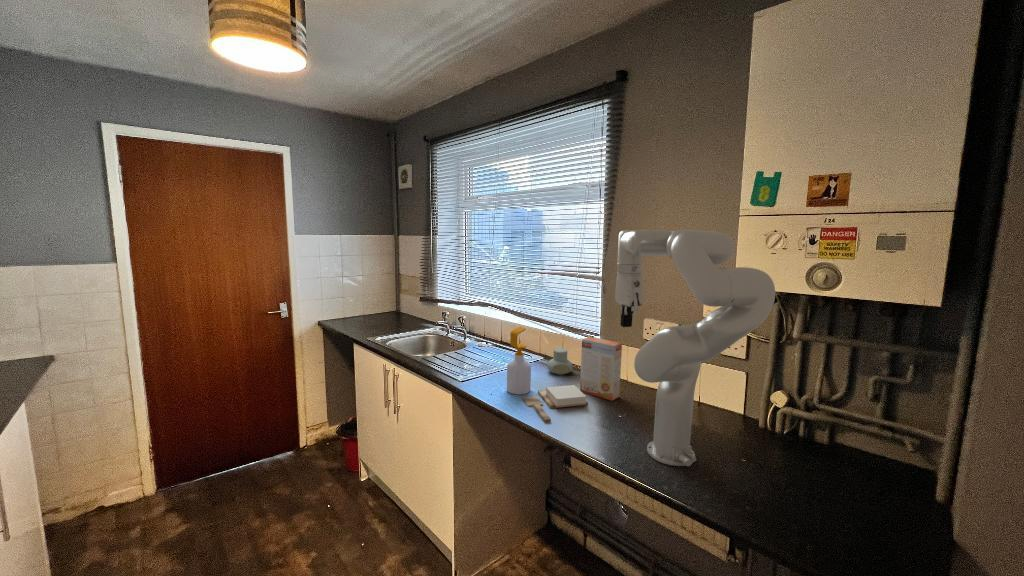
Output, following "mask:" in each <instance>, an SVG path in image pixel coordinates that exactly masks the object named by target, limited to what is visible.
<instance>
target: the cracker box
mask: <svg viewBox="0 0 1024 576" xmlns="http://www.w3.org/2000/svg"><path fill="white" fill-rule="evenodd" d="M622 349H623V343H622V342H617V341H613V340H609V339H604V338H597V337H593V336H588V337H584V338H582V339H581V355H580V356H581V358H580V360H581V361H580V383H579V384H580V385H579V388H580V389H579V390H580V391H581V392H582V393H584V394H589V395H591V396H594V397H598V398H602V399H605V400H608V401H611V402H613V401H614V400H616V399H618V398H620V391H621V390H620V389H621V370H622V369H621V368H622V352H623V351H622Z"/></svg>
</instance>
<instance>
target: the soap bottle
mask: <svg viewBox="0 0 1024 576" xmlns="http://www.w3.org/2000/svg"><path fill="white" fill-rule="evenodd" d="M523 332H526V328H525V327H522V326H519V327H516V328H515V329H512V330H511V332H510V336H509V337H510V338H509V339H510V346H511V347H513V348H515V350H516V351H515V353H514V358H513V359H511V360H510V361H509V362H508V363H507V365H506V391H507V392H508V393H509V394H512V395H518V396H522V395H527V394H528V393H530V392H531V389H532V388H531V384H532V383H531V381H532V378H531V375H532V366H531V363H530V362H529V361H528V360H527V359H525V358H524V357H525V355H524V352H522V350H524V349H525V348H527V345H526V344H523V343H518V336H519V334H520V333H523Z"/></svg>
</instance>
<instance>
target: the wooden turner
mask: <svg viewBox="0 0 1024 576" xmlns="http://www.w3.org/2000/svg"><path fill="white" fill-rule="evenodd" d="M522 400H523V402H524V404H525V405H526V407H527V408H529V407H530V408H531V407H532V408H533V409H534V410H535V411H536V413H537V415H538V416H539V417H540V419H541V420H542V421H543V422H544V424H549V422H550V423H551V422H552V419H551V417H550V416H549V415H548V413H546V411H545V410H544V408H543V407H542V406H544V403H543V402H542V401H541V400H540V398H539V397H538V396H537V395H536V396H527V397H526V396H525V397H522Z"/></svg>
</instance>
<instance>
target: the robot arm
mask: <svg viewBox="0 0 1024 576" xmlns="http://www.w3.org/2000/svg"><path fill="white" fill-rule="evenodd" d="M735 251H736V244H735V242H734V240H733V239H732V236H729V235H728V234H727V233H725V232H721V231H718V230H703V229H702V230H701V229H700V230H699V229H683V228H682V229H676V230H667V229H636V230H635V229H633V230H632V229H624V230H621V231H620V232H619V234H618V246H617V263H616V264H617V266H616V267H617V268H616V275H617V276H616V281H615V289H614V300H615V302H616V304H617V306H618V307H619V309H620V311H619V312H620V326H621V327H623V328H630V327H631V328H632V326H633V317H634V316H633V315H634V314H635V313H634V312H637V311H639V307H642V306H643V304H644V284H643V283H644V280H643V275H642V272H643V258H644V257H643V256H668V257H669V258H670V259H671V260H673V262H674V264H675V267H676V268H677V270H678V271H679V273H680V275H681V276H682V278H683V280H684V281H685V283H686V284H687V286H688V289H689V291H690V292H691V293H692V295H693V296H694V298H695V299H696V300H697V301H699V302H700V303H701V304H702V305H704V306H708V307H712V308H713V307H714V308H715V307H718V308H716V309H714V310H713V311H712V312H709V314H708V315H706V316H705V317H704V318H703V319H701V320H700V321H698V322H696V323H693V324H687V325H686V324H685V325H676V326H675V325H674V326H669V327H665V328H663V329H661V330H659V331H658V332H657V333H655V334H654V336H652V337H651V338H650V339H649V340H648V341H647V342H646V343H644V344H643V346H642V347H640V349H638V351H637V353H636V354H635V357H634V362H633V363H634V366H633V368H634V370H635V373H636V375H637V376H638V377H639V378H640V379H641V380H642V381H644V382H646V383H652V384H653V383H658V386H657V390H656V395H655V396H656V397H655V408H654V425H653V436H652V437H653V440H652V441H649V442H648V443H647V446H646V451H647V454H648V455H649V456H650V457H651V458H652V459H654V460H655V461H657V462H659V463H661V464H665V465H669V466H673V467H674V466H675V467H685V466H686V467H690V466H692V464H693V463H694V462H696V461H697V457H696V454H695V451H694V450H693V449H692V448H693V446H692V445H691V434H692V423H693V411H694V410H693V409H694V401H695V399H694V398H695V390H696V386H697V381H698V377H699V374H700V371H701V366H702V365H701V364H702V363H706V362H707V363H708V362H709V361H712V359H714V358H715V357H717V356H718V355H719V354H721V353H723V352H724V351H725V350H727V349H728V348H730V347H731V346H732V345H734V344H735V343H737V342H738V341H739V340H741V339H742V338H744V337H745V336H747V335H749V334H750V333H752V332H753V331H754V330H756V329H757V328H758V327H759V326H760V325H761V324H762V323H764V322H765V320H766V319H767V318H768V316H769V315H770V313H771V311H772V310H773V307H774V304H775V299H776V289H775V283H774V281H773V279H772V278H771V276H770V275H769V274H768V273H767V272H765V271H763V270H760V269H757V268H753V267H748V266H747V267H746V266H745V267H739V266H738V267H736V266H735V267H720V266H722V265H724V264H727V263H728V262H729V261H730V260H732V258H733V256H734V255H735ZM718 266H719V267H718Z"/></svg>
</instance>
